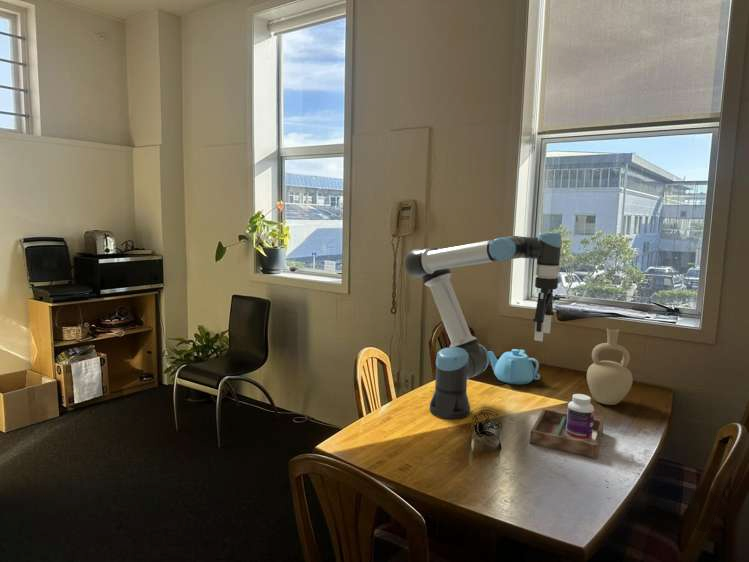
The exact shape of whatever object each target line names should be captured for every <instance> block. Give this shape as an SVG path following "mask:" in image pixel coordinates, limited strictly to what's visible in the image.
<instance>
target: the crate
mask: <svg viewBox="0 0 749 562" xmlns="http://www.w3.org/2000/svg"><path fill="white" fill-rule="evenodd" d="M604 422H605V420H603V419H598V418H594V417H593V429H592V439H591V440H590V441H589V442H586V441H582V440H577V439H572V438H568V437H567V436H566V424H567V412H562V411H558V410H554V409H548V408H543V409H542V410H541V412H540V415H539V416H538V417H537V419H536V421H535V423H534V425H532V428H531V429H530V438H529V444H530V445H533V446H537V447H538V446H539V447H542V448H547V449H550V450H551V449H552V450H556V451H560V452H565V453H568V454H572V455H576V456H582V457H585V458H590V459H593V460H594V459H595V460H597V459H598V454H599V451H600V447H601V443H602V442H601V441H602V437H603V434H604V432H603V431H604Z"/></svg>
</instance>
